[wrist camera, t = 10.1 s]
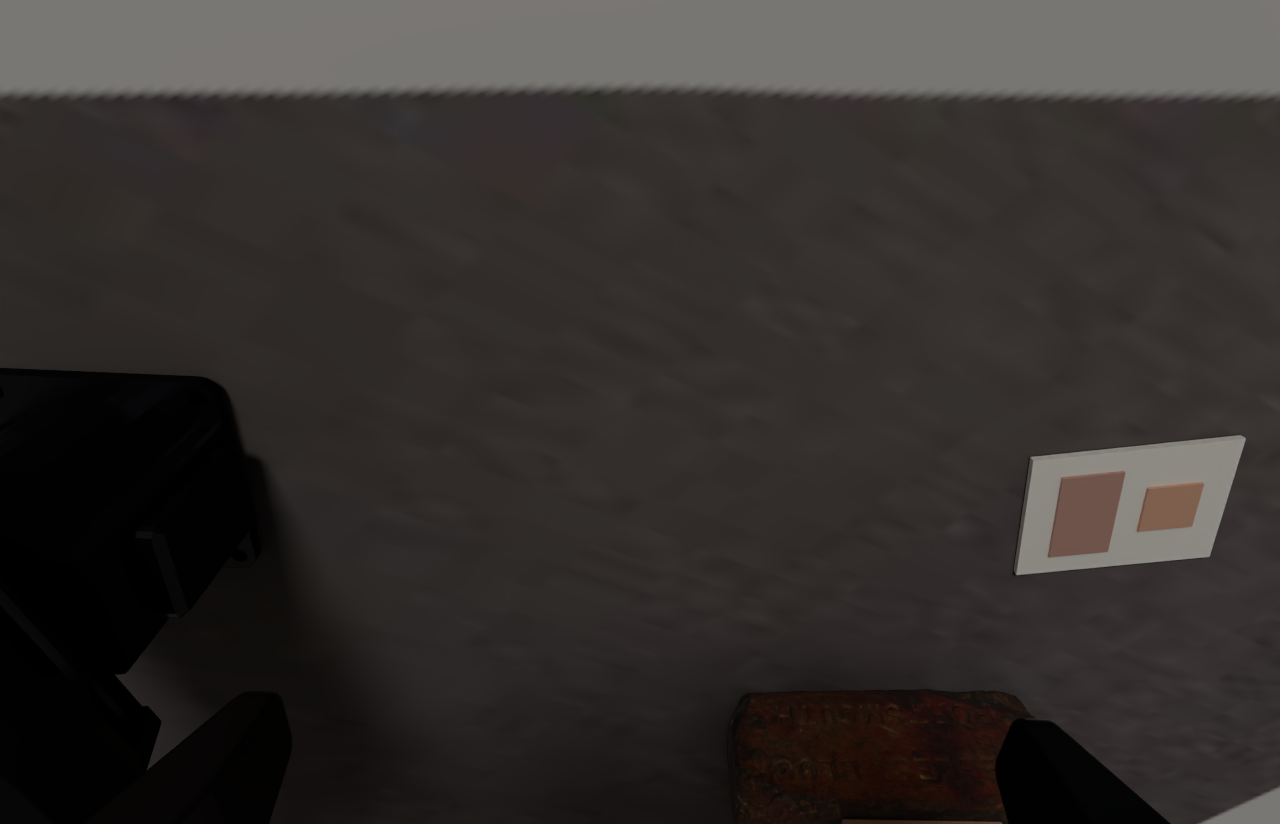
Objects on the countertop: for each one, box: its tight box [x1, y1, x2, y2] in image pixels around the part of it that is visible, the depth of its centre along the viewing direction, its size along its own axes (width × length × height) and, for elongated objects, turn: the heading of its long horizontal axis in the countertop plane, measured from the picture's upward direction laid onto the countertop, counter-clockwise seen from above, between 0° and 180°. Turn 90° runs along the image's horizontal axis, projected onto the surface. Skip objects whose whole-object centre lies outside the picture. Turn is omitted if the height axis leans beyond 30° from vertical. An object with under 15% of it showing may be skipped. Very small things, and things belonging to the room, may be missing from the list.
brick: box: [727, 689, 1035, 824], centre depth 26 cm, size 11×4×5 cm, turn 92°
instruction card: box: [1014, 435, 1246, 575], centre depth 23 cm, size 6×4×1 cm
